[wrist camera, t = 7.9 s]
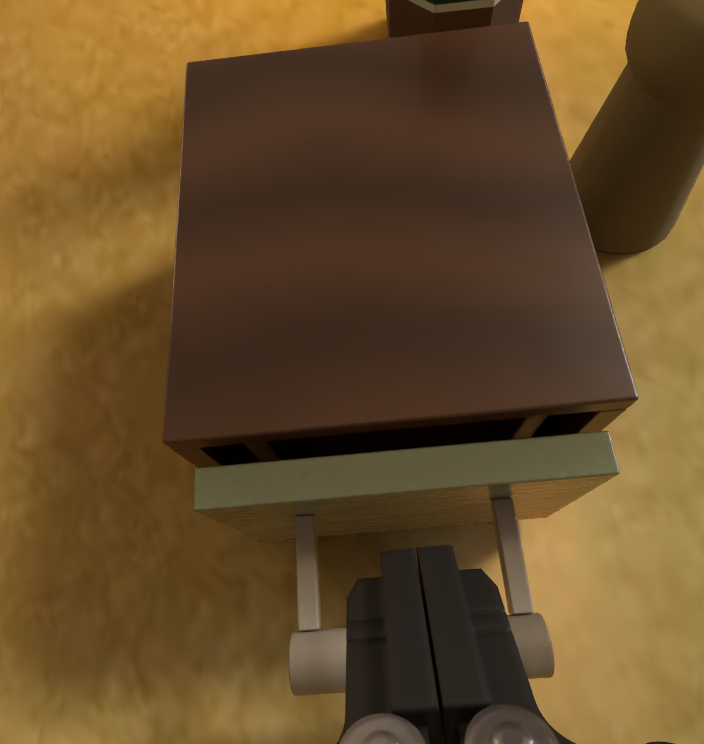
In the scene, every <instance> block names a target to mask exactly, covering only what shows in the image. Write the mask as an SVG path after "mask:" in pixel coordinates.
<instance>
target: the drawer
mask: <svg viewBox="0 0 704 744" xmlns="http://www.w3.org/2000/svg"><path fill="white" fill-rule="evenodd" d="M547 417H548V416H538V417H527V418H516V419H506V420H495V421H484V422H473V423H462V424H451V425H440V426H429V427H419V428H408V429H397V430H386V431H375V432H364V433H353V434H342V435H332V436H321V437H310V438H299V439H288V440H277V441H266V442H255V443H244V445H245V447H246V448H247V449H248V450H249V451H250V452H251V453H252V454H253V455H254V456H255V457H256V458H257V459H258V460H259V461H260V462H257V463H246V464H235V465H224V466H213V467H202V468H196V469H195V481H194V506H193V509H194V511H195V512H198V513H200V514H202V515H204V516H206V517H208V518H210V519H213V520H215V521H217V522H219V523H221V524H223V525H225V526H227V527H230V528H232V529H234V530H236V531H238V532H240V533H242V534H245V535H247V536H249V537H251V538H253V539H255V540H257V541H260V542H262V541H274V540H286V539H295V545H296V577H297V609H298V630H299V631H296V632H293V633H292V635H291V638H290V644H289V679H290V686H291V690H292V693H293V695H295V696H301V695H315V694H329V693H343V692H346V644H347V642H346V628H335V629H322V630H319V629H321V610H320V589H319V567H318V545H317V537H321V536H333V535H345V534H357V533H369V532H380V531H392V530H404V529H416V528H428V527H440V526H451V525H463V524H475V523H487V522H494V527H495V533H496V539H497V545H498V551H499V557H500V563H501V569H502V575H503V581H504V587H505V593H506V599H507V605H508V611H509V613H510V614H512V615H507V617H508V620H509V623H510V626H511V631H512V633H513V636H514V639H515V642H516V645H517V648H518V651H519V654H520V657H521V660H522V663H523V666H524V669H525V672H526V675H527V678H528V679H535V678H549V677H552V676H553V674H554V654H553V648H552V643H551V638H550V635H549V631H548V628H547V625H546V623H545V621H544V619H543V617H542V615H541V614H540V613H533V605H532V600H531V595H530V589H529V584H528V578H527V573H526V567H525V562H524V557H523V551H522V546H521V540H520V535H519V529H518V524H517V520H522V519H534V518H546V517H548V516H549V515H551V514H553V513H555V512H556V511H558V510H560V509H561V508H563V507H565V506H566V505H568V504H570V503H571V502H573V501H575V500H576V499H578V498H580V497H581V496H583V495H585V494H586V493H588V492H590V491H591V490H593V489H595V488H596V487H598V486H600V485H601V484H603V483H605V482H606V481H608V480H610V479H611V478H613V477H615V476H616V475H618V474H619V468H618V464H617V460H616V457H615V453H614V449H613V445H612V441H611V438H610V434H609V432H608V431H600V432H589V433H578V434H567V435H556V436H544V437H533V438H531V437H532V436H533V434H534V433H535V432H536V431H537V429H538V428H539V427H540V426H541V424H542V423H543V422H544V420H545V419H546V418H547Z"/></svg>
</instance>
